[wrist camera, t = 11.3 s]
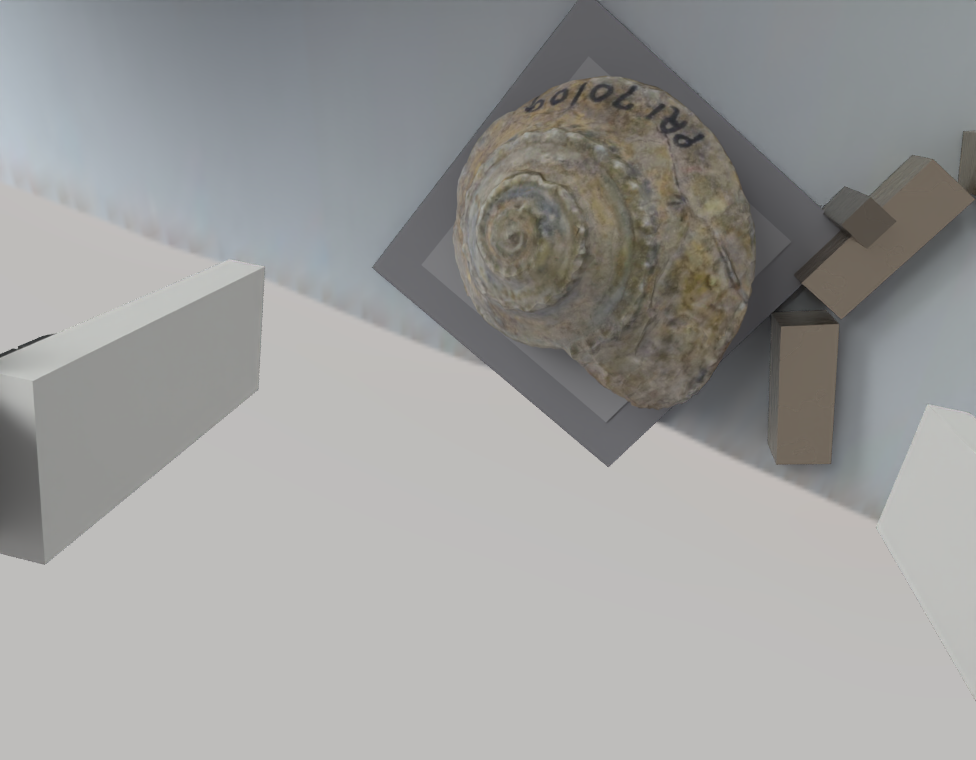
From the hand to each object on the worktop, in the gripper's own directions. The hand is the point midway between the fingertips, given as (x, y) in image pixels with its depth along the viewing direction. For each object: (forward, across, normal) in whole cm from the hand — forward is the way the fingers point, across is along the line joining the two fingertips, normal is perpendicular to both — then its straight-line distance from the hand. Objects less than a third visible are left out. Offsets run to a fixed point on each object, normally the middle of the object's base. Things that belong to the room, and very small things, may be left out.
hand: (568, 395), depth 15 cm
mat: (+16, 0, 0) cm, 16 cm away
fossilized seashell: (+16, 0, 0) cm, 16 cm away
